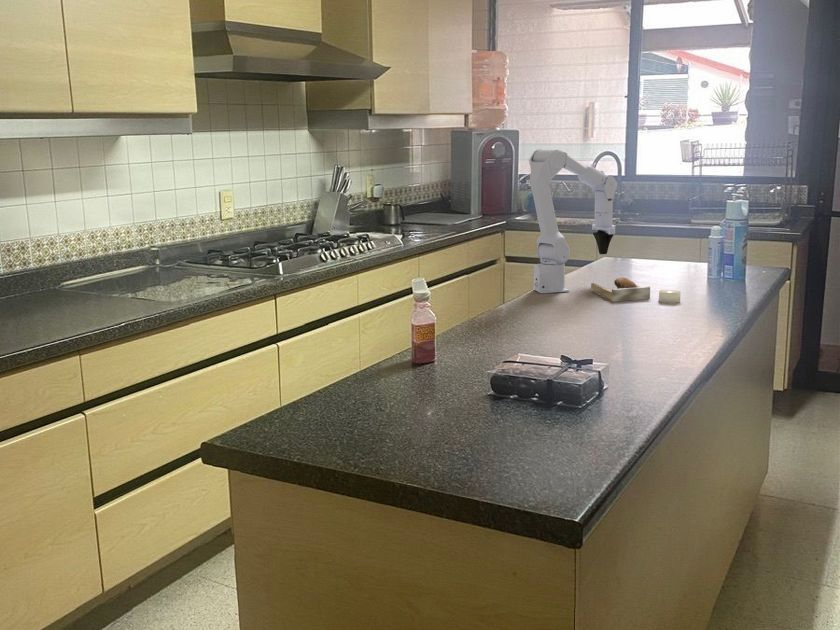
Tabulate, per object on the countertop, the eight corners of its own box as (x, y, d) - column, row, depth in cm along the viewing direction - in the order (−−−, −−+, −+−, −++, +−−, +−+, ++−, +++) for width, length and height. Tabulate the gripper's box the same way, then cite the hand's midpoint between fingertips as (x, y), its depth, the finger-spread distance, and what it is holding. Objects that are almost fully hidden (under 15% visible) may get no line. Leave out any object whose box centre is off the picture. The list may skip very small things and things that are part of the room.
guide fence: (613, 301, 251) (613, 289, 250) (591, 291, 267) (591, 280, 267) (649, 298, 253) (650, 287, 252) (625, 288, 269) (626, 277, 269)
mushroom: (606, 288, 255) (618, 270, 254) (609, 293, 262) (620, 276, 262) (628, 302, 252) (641, 284, 251) (631, 307, 259) (643, 290, 259)
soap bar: (663, 304, 246) (664, 294, 245) (655, 299, 252) (655, 290, 251) (683, 303, 247) (684, 292, 246) (674, 298, 252) (675, 289, 252)
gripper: (624, 213, 270) (623, 256, 273) (606, 209, 284) (605, 250, 287) (603, 214, 269) (603, 257, 272) (586, 210, 283) (585, 251, 286)
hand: (603, 253), depth 280 cm, fingers closed
